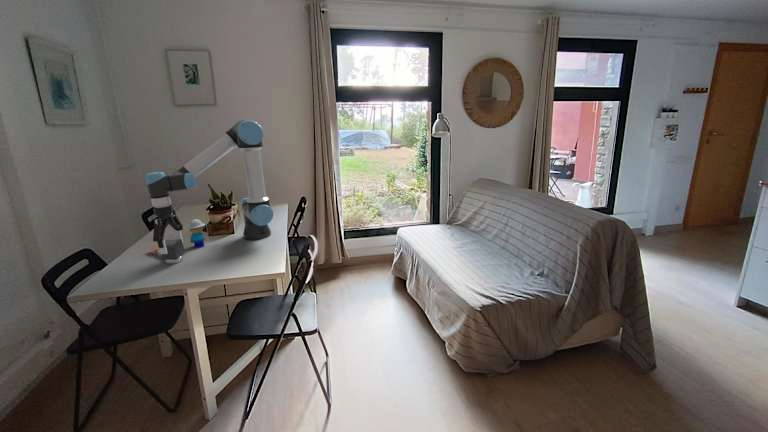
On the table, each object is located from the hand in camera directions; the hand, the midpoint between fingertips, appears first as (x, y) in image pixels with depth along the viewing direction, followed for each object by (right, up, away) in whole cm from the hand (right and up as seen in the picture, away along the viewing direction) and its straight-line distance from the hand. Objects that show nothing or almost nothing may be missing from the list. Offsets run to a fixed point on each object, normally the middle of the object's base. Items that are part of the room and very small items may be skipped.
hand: (172, 248), depth 165 cm
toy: (+1, -1, +22) cm, 22 cm away
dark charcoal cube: (0, -4, +1) cm, 4 cm away
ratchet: (-8, -5, +8) cm, 13 cm away
